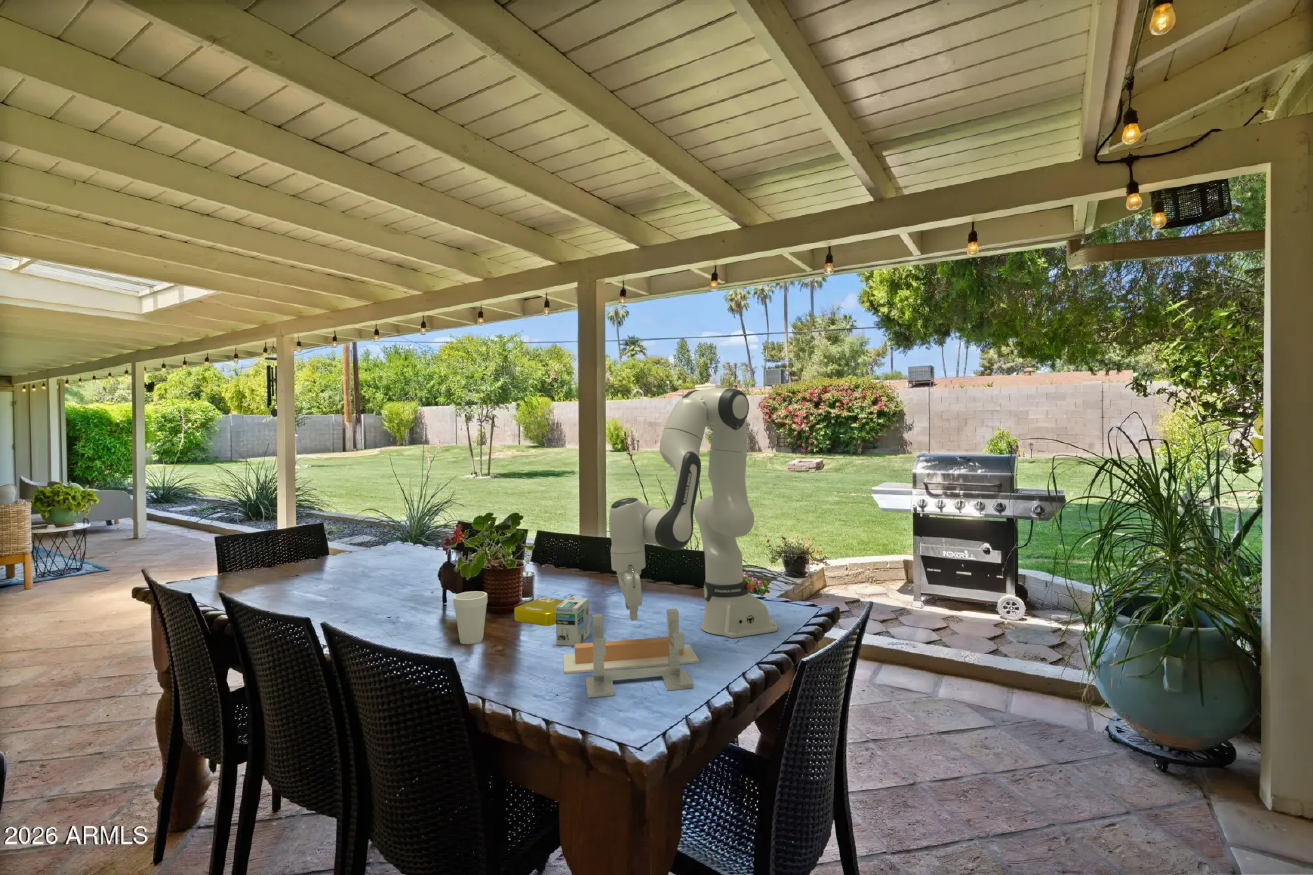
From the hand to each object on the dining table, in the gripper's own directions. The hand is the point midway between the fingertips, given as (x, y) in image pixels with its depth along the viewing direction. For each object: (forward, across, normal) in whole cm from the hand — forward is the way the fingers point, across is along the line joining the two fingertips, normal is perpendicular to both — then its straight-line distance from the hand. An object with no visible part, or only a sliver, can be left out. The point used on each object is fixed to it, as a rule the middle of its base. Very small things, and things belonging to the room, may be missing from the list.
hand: (631, 614), depth 159 cm
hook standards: (+12, -18, +1) cm, 21 cm away
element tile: (+12, +43, +24) cm, 50 cm away
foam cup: (+10, +24, +44) cm, 52 cm away
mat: (+12, 0, +1) cm, 12 cm away
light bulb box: (+12, +18, +15) cm, 27 cm away
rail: (+11, 0, +1) cm, 11 cm away
